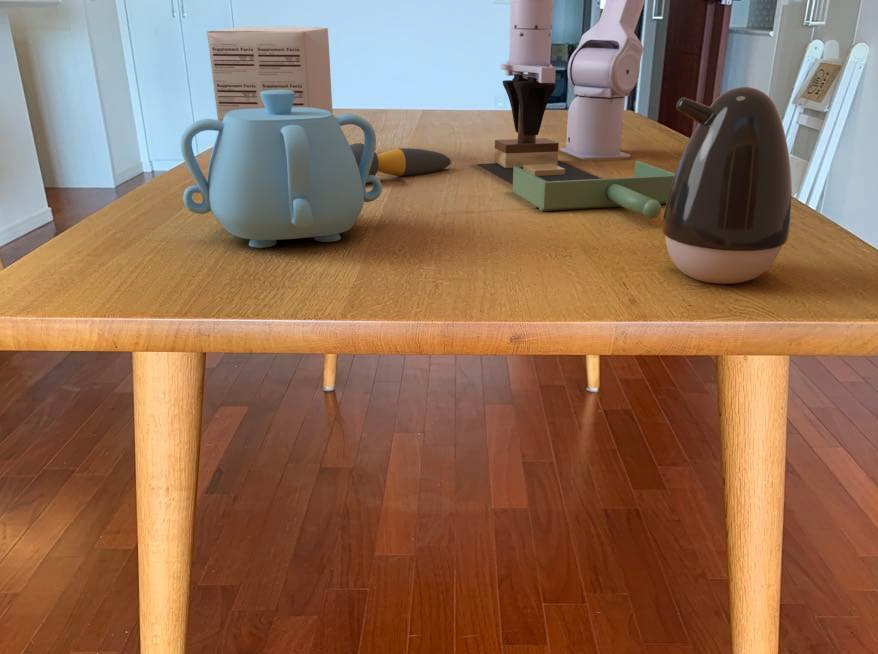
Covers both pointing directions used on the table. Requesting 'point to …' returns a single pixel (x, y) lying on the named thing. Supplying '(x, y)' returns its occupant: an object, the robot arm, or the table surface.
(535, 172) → the flat wooden square tile
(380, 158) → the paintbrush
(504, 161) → the brush
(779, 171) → the pump dispenser
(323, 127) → the decorative pot
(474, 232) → the table surface
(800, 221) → the table surface
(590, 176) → the mat
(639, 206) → the dustpan
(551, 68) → the robot arm
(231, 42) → the supplement box
